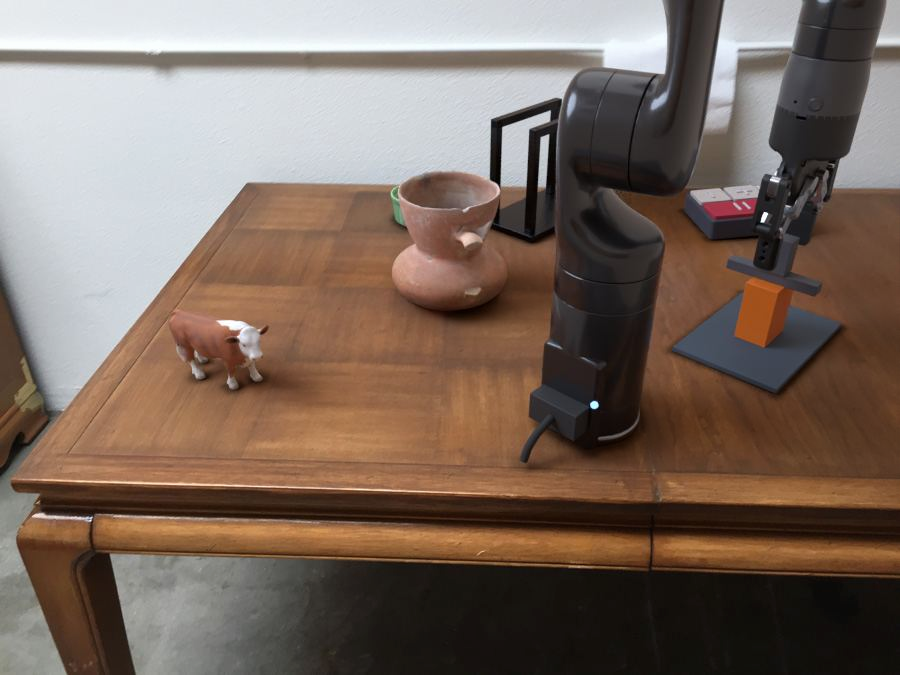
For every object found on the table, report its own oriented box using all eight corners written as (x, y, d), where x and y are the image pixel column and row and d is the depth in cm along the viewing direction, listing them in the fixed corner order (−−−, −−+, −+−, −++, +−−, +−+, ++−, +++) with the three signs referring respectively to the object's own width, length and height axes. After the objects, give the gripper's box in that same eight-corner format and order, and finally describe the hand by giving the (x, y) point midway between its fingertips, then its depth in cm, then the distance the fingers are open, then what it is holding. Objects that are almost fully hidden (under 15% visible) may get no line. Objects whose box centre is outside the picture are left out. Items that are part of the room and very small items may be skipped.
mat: (775, 394, 79) (777, 389, 79) (671, 351, 86) (672, 346, 86) (840, 327, 90) (842, 323, 90) (744, 293, 97) (744, 289, 97)
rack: (531, 243, 110) (537, 133, 102) (479, 224, 116) (481, 119, 108) (598, 209, 121) (609, 107, 112) (547, 193, 127) (554, 94, 118)
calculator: (685, 188, 118) (780, 179, 119) (682, 214, 120) (776, 205, 121) (712, 216, 109) (815, 207, 110) (709, 244, 111) (809, 234, 112)
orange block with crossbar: (792, 358, 84) (820, 258, 77) (707, 326, 90) (727, 230, 83) (810, 340, 87) (839, 242, 80) (727, 310, 93) (747, 216, 86)
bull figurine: (260, 409, 78) (249, 341, 73) (170, 370, 84) (154, 305, 79) (290, 388, 81) (280, 321, 76) (200, 351, 87) (187, 288, 83)
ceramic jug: (529, 315, 93) (535, 205, 86) (415, 337, 89) (411, 224, 82) (475, 253, 108) (476, 155, 100) (375, 270, 103) (368, 169, 96)
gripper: (810, 82, 80) (776, 226, 89) (748, 109, 72) (716, 266, 80) (886, 95, 76) (842, 245, 84) (829, 125, 67) (787, 289, 76)
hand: (781, 255), depth 82 cm, fingers open, 8 cm apart
